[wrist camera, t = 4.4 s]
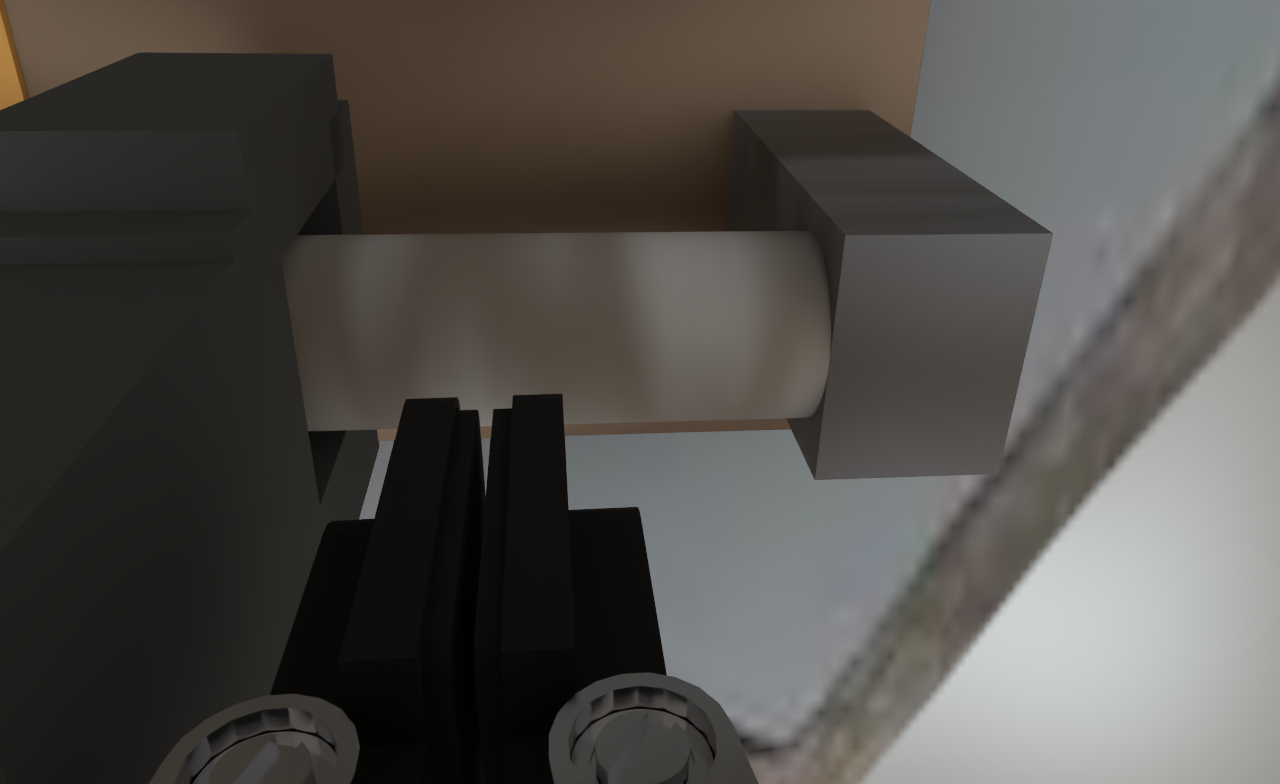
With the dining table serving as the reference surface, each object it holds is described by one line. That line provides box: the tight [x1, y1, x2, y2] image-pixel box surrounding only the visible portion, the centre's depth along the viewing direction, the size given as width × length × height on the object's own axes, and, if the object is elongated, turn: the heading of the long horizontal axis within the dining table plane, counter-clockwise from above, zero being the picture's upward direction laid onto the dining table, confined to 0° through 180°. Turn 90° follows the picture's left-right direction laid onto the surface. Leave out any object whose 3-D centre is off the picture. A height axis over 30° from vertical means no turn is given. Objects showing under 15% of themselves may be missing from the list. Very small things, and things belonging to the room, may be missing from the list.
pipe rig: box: [0, 0, 1053, 480], centre depth 17 cm, size 12×30×10 cm, turn 89°
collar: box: [0, 52, 379, 784], centre depth 12 cm, size 7×3×13 cm, turn 179°
